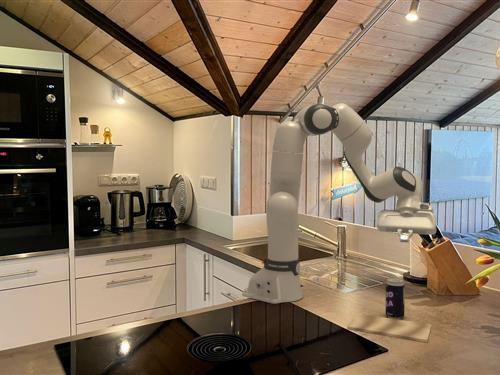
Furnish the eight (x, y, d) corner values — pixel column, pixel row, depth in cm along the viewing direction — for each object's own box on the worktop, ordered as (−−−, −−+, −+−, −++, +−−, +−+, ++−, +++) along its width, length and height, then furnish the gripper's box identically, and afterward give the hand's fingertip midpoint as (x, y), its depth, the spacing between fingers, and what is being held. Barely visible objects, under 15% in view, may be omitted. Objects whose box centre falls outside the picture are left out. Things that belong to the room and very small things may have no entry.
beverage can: (389, 312, 141) (389, 276, 140) (407, 316, 137) (407, 279, 136) (382, 317, 136) (382, 280, 135) (400, 321, 133) (400, 283, 132)
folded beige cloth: (347, 329, 128) (347, 326, 128) (357, 315, 138) (357, 313, 138) (427, 342, 117) (427, 339, 117) (431, 327, 128) (431, 324, 128)
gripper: (378, 204, 163) (372, 234, 155) (437, 206, 154) (434, 238, 146) (380, 214, 167) (375, 244, 159) (437, 217, 158) (435, 248, 150)
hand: (404, 241), depth 152 cm, fingers closed
